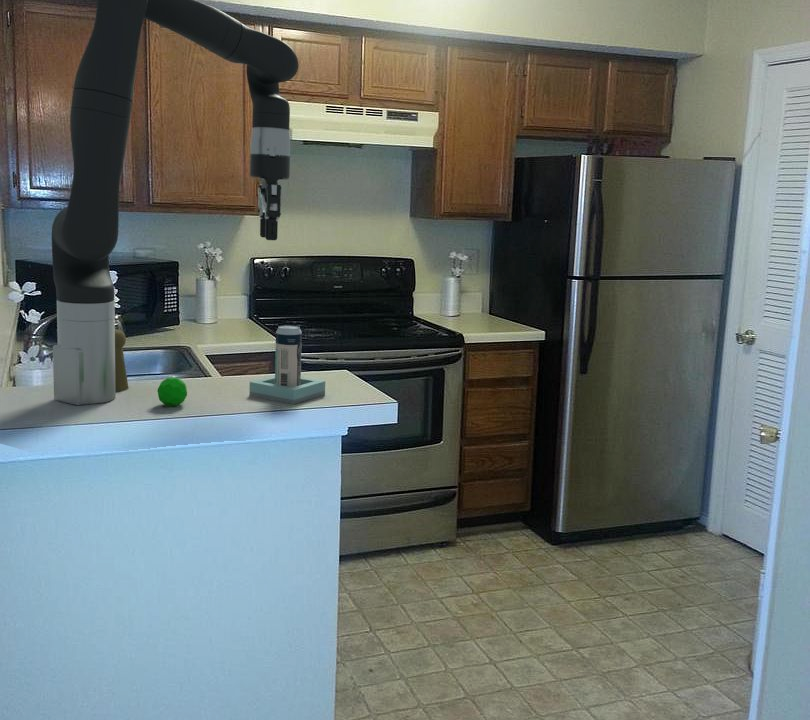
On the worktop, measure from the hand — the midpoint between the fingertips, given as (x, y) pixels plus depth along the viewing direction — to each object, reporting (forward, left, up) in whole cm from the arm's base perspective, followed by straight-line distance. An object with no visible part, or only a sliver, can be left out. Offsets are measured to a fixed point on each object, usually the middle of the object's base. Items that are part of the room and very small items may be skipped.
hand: (268, 238), depth 162 cm
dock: (-8, -12, -28) cm, 31 cm away
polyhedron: (-27, -1, -28) cm, 39 cm away
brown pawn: (-25, +16, -28) cm, 41 cm away
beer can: (-8, -11, -28) cm, 31 cm away
